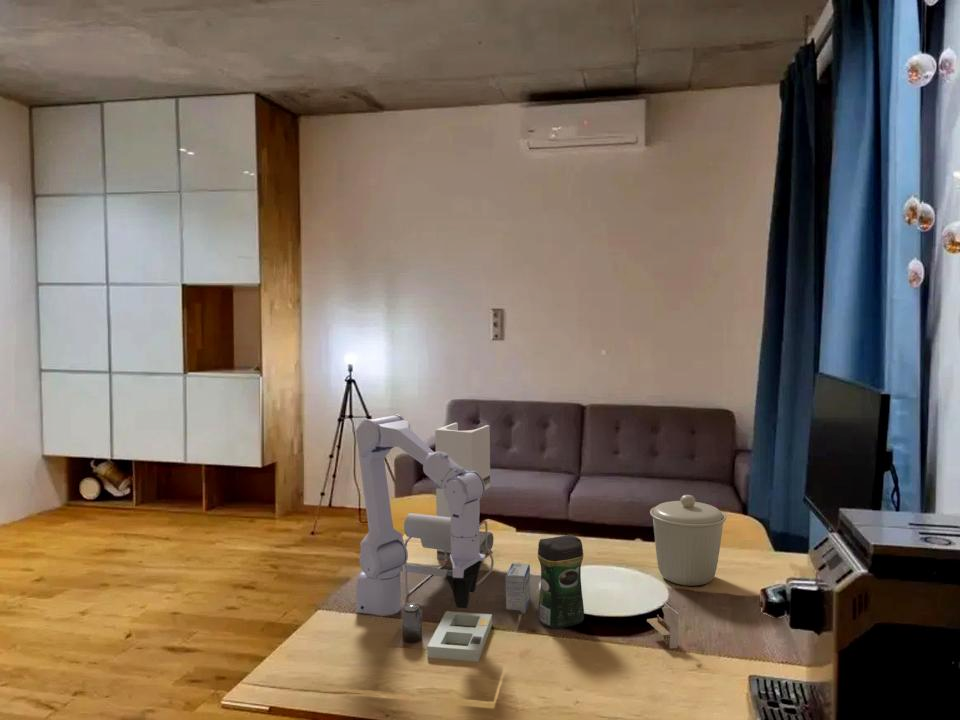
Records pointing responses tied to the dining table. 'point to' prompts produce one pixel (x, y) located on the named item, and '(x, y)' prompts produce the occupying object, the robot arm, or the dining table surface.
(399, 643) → the brown square tile
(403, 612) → the plug
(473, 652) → the port box
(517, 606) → the medicine box
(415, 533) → the chair
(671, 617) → the architectural model
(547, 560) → the coffee jar
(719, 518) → the canister
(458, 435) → the tall white box
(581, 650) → the dining table surface
